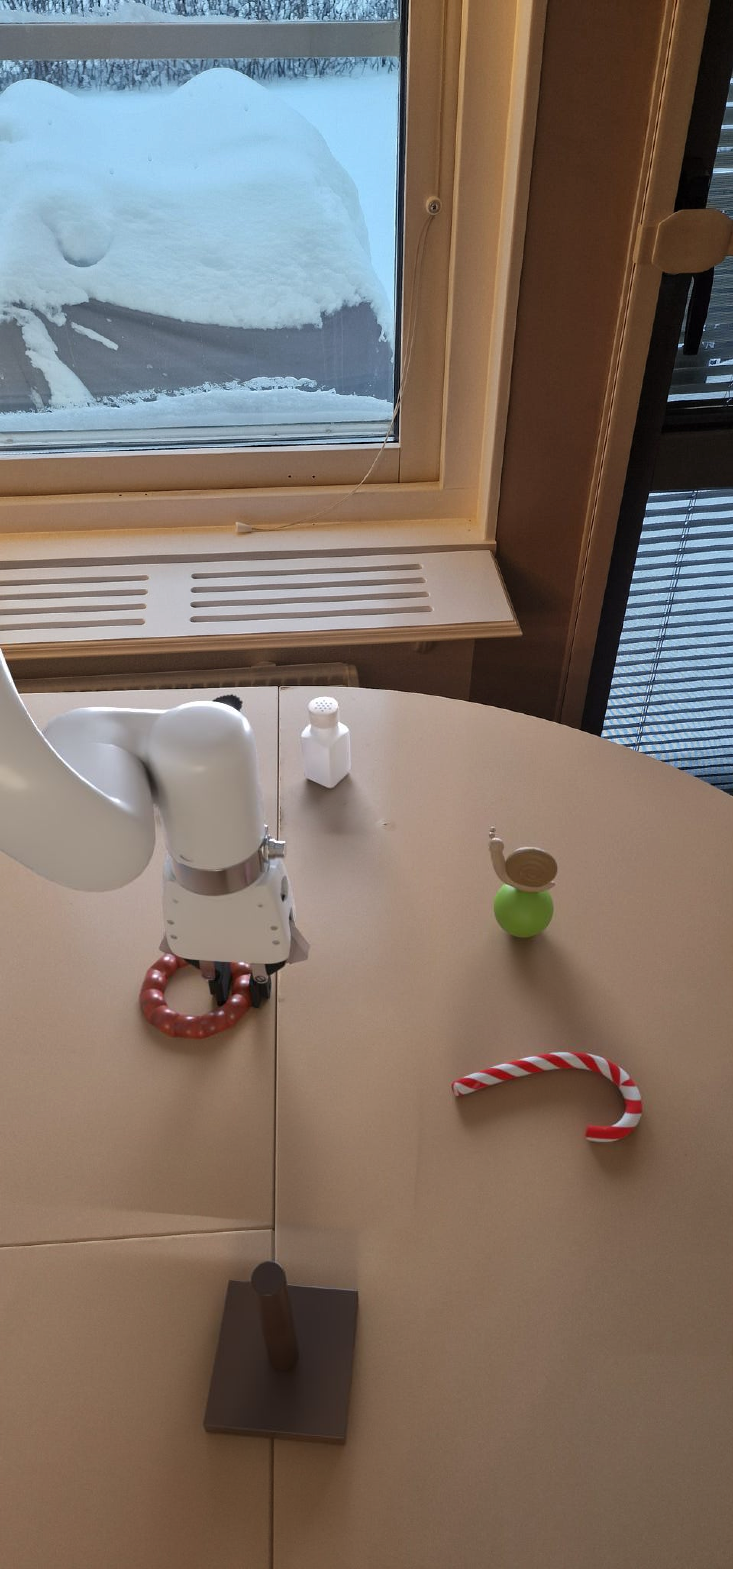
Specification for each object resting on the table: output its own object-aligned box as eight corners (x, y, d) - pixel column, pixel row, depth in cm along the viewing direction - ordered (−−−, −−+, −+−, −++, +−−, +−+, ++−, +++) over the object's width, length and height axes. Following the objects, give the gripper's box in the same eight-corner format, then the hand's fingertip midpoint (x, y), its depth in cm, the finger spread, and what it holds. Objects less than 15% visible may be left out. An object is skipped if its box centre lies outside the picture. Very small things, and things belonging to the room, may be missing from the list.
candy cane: (450, 1048, 85) (633, 1049, 85) (449, 1057, 86) (630, 1058, 86) (454, 1135, 80) (650, 1136, 79) (453, 1143, 80) (647, 1145, 80)
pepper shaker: (302, 778, 113) (296, 709, 106) (323, 758, 115) (319, 689, 109) (331, 791, 111) (327, 722, 104) (353, 771, 113) (350, 702, 107)
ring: (130, 1040, 88) (126, 1026, 87) (158, 948, 95) (154, 934, 94) (246, 1048, 87) (244, 1034, 86) (265, 954, 95) (263, 940, 93)
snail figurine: (484, 899, 99) (492, 808, 91) (552, 908, 98) (566, 817, 90) (477, 943, 95) (485, 852, 87) (548, 953, 94) (562, 862, 86)
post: (205, 1432, 66) (174, 1354, 57) (231, 1287, 73) (207, 1196, 64) (345, 1445, 65) (336, 1368, 56) (358, 1298, 72) (353, 1208, 63)
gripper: (329, 821, 81) (338, 968, 93) (127, 812, 82) (162, 958, 94) (317, 893, 75) (328, 1039, 88) (101, 882, 76) (142, 1027, 89)
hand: (242, 996), depth 91 cm, fingers closed on ring, 2 cm apart
